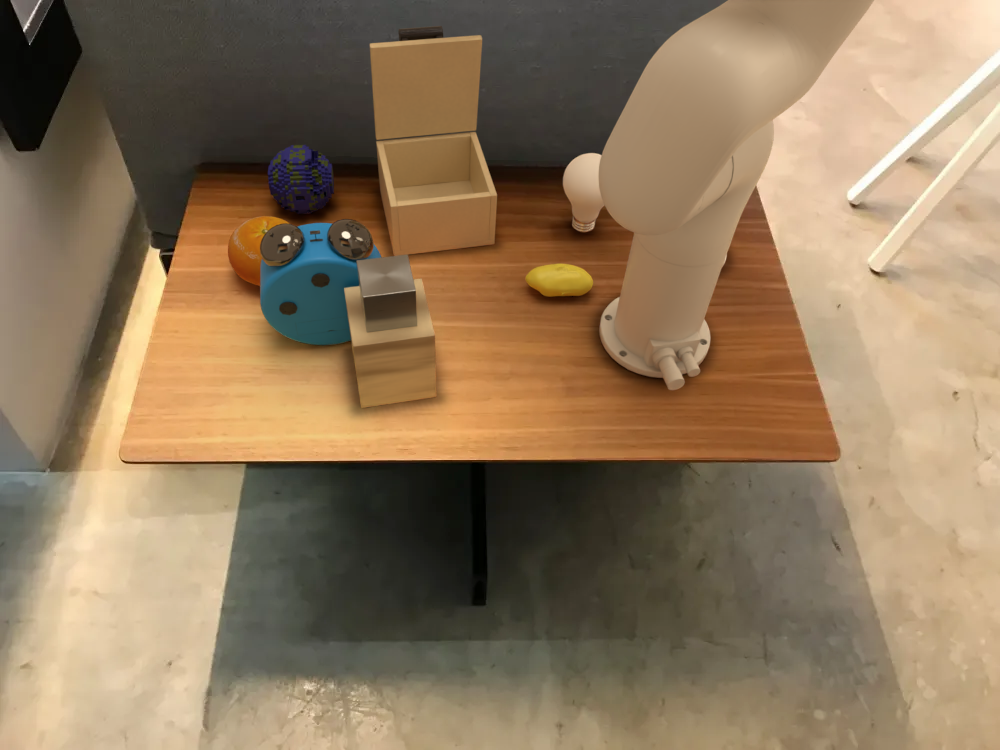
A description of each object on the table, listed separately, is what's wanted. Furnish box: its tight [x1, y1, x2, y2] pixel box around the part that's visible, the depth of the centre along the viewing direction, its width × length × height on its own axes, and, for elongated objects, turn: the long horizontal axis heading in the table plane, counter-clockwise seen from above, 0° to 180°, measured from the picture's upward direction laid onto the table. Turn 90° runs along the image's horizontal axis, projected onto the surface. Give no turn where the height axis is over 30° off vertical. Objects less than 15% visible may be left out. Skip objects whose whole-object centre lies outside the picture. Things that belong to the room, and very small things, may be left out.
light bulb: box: [562, 152, 605, 233], centre depth 105 cm, size 7×7×11 cm
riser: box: [344, 277, 437, 409], centre depth 89 cm, size 8×8×10 cm
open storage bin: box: [375, 131, 498, 256], centre depth 106 cm, size 13×13×8 cm
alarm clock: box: [259, 218, 383, 346], centre depth 91 cm, size 13×6×15 cm, turn 100°
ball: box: [267, 144, 335, 215], centre depth 107 cm, size 8×8×8 cm
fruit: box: [227, 215, 291, 287], centre depth 99 cm, size 8×8×8 cm
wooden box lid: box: [369, 25, 483, 141], centre depth 102 cm, size 13×13×5 cm
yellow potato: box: [524, 262, 594, 298], centre depth 100 cm, size 4×8×4 cm, turn 85°
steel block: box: [356, 254, 417, 333], centre depth 83 cm, size 5×5×5 cm
